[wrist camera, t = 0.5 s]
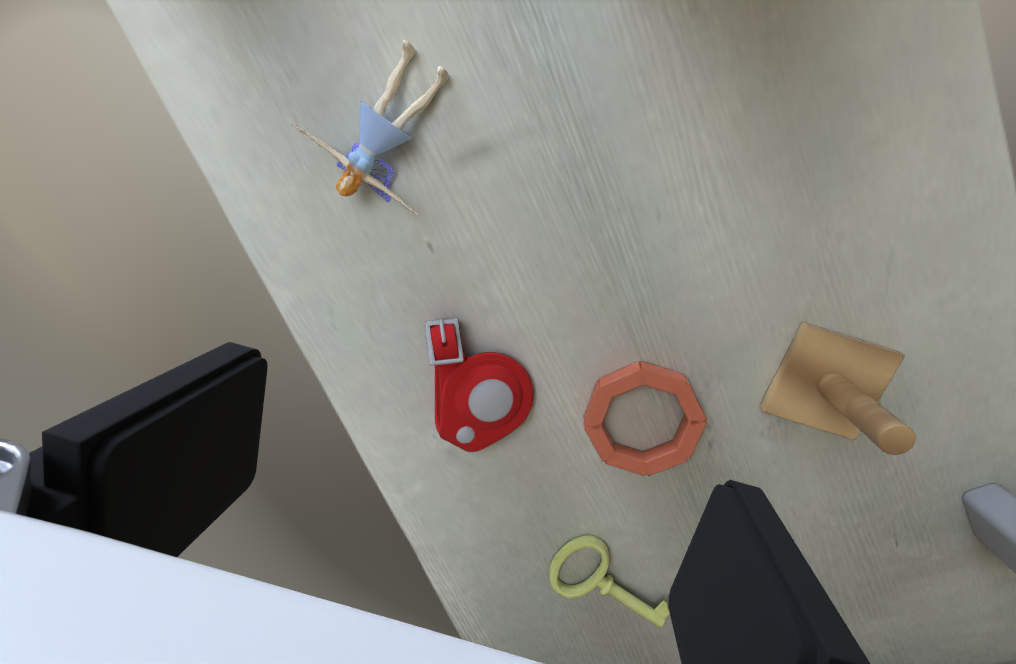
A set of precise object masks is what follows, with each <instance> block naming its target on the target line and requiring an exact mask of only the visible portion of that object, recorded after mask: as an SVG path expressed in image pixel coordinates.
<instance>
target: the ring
mask: <svg viewBox="0 0 1016 664" xmlns="http://www.w3.org/2000/svg"><path fill="white" fill-rule="evenodd" d="M599 380H600V381H597V382H596V385H595V387H594V390H593V393H592V395H591V398H590V401H589V403H588V406H587V409H586V411H585V414H584V429H585V431H586V432H587V434H588V436H589V438H590V440H591V441H592V443H593V445H594V447H595V449H596V450H597V452H598V454H599V456H600V458H601V459H602V461H603V462H604V461H605V463H606V464H608V465H611V466H614V467H618V468H621V469H624V470H627V471H630V472H634V473H637V474H640V475H643V476H645V475H646V473H647V475H648V476H650V475H652V474H655V473H657V472H660V471H663V470H665V469H668V468H670V467H673V466H676V465H678V464H681V463H683V462H686V461H688V460H687V458H690V457H691V455H692V453H693V451H694V449H695V447H696V445H697V443H698V441H699V438H700V436H701V434H702V432H703V430H704V428H705V426H706V424H707V422H706V420H707V419H706V417H705V415H704V413H703V411H702V409H701V406H700V404H699V402H698V400H697V398H696V396H695V394H694V392H693V390H692V388H691V386H690V384H689V382H688V380H687V378H686V377H685V376H683V374H682V373H678V372H675V371H672V370H669V369H665V368H662V367H659V366H656V365H653V364H649V363H646V362H643V361H641V363H640V364H639V362H635V363H633V364H631V365H629V366H627V367H624V368H622V369H620V370H618V371H615V372H613V373H611V374H609V375H606V376H604V377H602V378H600V379H599ZM641 385H646V386H649V387H653V388H656V389H659V390H662V391H665V392H669V393H672V394H675V395H676V397H677V399H678V401H679V403H680V405H681V407H682V409H683V411H684V413H685V414H684V417H683V419H682V421H681V423H680V425H679V428H678V430H677V432H676V434H675V436H674V439H673V440H671V441H669V442H666V443H664V444H661V445H659V446H656V447H654V448H651V449H649V450H646V451H644V452H643V451H640V450H636V449H633V448H630V447H627V446H624V445H620V444H617V443H614V442H613V440H612V438H611V437H610V435H609V433H608V431H607V429H606V427H605V425H604V424H603V420H604V417H605V415H606V412H607V410H608V407H609V404H610V402H611V399H612V398H613V397H615V396H618V395H620V394H622V393H625V392H627V391H629V390H632V389H634V388H636V387H638V386H641Z"/></svg>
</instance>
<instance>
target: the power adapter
mask: <svg viewBox="0 0 1016 664" xmlns="http://www.w3.org/2000/svg"><path fill="white" fill-rule="evenodd" d="M962 500H963V503H964V506H965V509H966V512H967V514H968V517H969V520H970V523H971V526H972V528H973V531H974V534H975V536H976V537H977V538H978V539H979V540H980V541H981V542H982V543H983V544H985V545H986V546H987V547H988V548H989V549H990V550H991V551H992V552H993V553H994V554H995V555H996V556H998V557H999V558H1000V559H1001V560H1002V561H1003V562H1004V563H1005V564H1006V565H1007V566H1008V567H1009V568H1010V569H1012V570H1013V571H1014V572H1015V573H1016V497H1015V496H1014V495H1012V494H1011V493H1010V492H1008V491H1007V490H1006V489H1004V488H1003V487H1002V486H1000V485H999V484H989V485H986V486H982V487H979V488H976V489H973V490H970V491H968V492H966V493H965V494H964V495H963V498H962Z"/></svg>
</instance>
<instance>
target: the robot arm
mask: <svg viewBox="0 0 1016 664" xmlns="http://www.w3.org/2000/svg"><path fill="white" fill-rule="evenodd" d="M266 376H267V361H266V360H265V359H263V358H261V353H260V352H259V350H257V349H253V348H250V347H246V346H242V345H239V344H235V343H231V342H229V343H226V344H224V345H222V346H219V347H217V348H215V349H213V350H211V351H209V352H207V353H205V354H203V355H201V356H199V357H197V358H194V359H193V360H191V361H188V362H186V363H184V364H182V365H180V366H178V367H176V368H174V369H172V370H170V371H168V372H166V373H163V374H162V375H159V376H157V377H155V378H153V379H151V380H149V381H147V382H145V383H143V384H141V385H139V386H137V387H134V388H132V389H130V390H128V391H126V392H124V393H122V394H120V395H118V396H116V397H114V398H112V399H110V400H107V401H105V402H103V403H101V404H99V405H97V406H95V407H93V408H91V409H89V410H87V411H85V412H83V413H80V414H79V415H76V416H74V417H72V418H70V419H68V420H66V421H64V422H62V423H60V424H58V425H56V426H53V427H51V428H50V429H48V430H45V431H43V432H42V444H43V446H42V447H40V448H38V449H36V450H35V451H32V452H30V453H29V451H28V450H27V449H26V448H25V447H24V446H23V445H22V444H19V443H16V442H13V441H11V440H5V439H0V664H543V663H540V662H536V661H533V660H530V659H526V658H523V657H519V656H516V655H513V654H509V653H506V652H502V651H499V650H496V649H492V648H489V647H485V646H482V645H479V644H475V643H472V642H468V641H465V640H461V639H458V638H455V637H451V636H448V635H444V634H441V633H437V632H434V631H431V630H427V629H424V628H420V627H417V626H414V625H410V624H407V623H403V622H400V621H396V620H393V619H389V618H386V617H382V616H379V615H375V614H372V613H369V612H365V611H361V610H358V609H355V608H351V607H348V606H345V605H341V604H338V603H334V602H331V601H327V600H323V599H320V598H317V597H313V596H310V595H306V594H302V593H299V592H296V591H293V590H289V589H286V588H282V587H279V586H275V585H272V584H268V583H265V582H261V581H258V580H255V579H251V578H248V577H244V576H241V575H237V574H233V573H230V572H226V571H223V570H219V569H216V568H212V567H209V566H205V565H201V564H198V563H195V562H191V561H188V560H184V559H180V558H177V557H178V556H179V555H180V554H181V553H182V552H183V551H184V550H185V549H186V548H187V547H188V546H189V545H190V544H191V543H192V542H193V541H194V540H195V539H196V538H197V537H198V536H199V535H200V534H201V533H202V532H204V531H205V530H206V529H207V528H208V527H209V526H210V525H211V524H212V523H213V522H214V521H215V520H216V519H217V518H218V517H219V516H220V515H221V514H222V513H223V512H224V511H225V510H226V509H227V508H228V507H229V506H230V505H231V504H232V503H233V502H234V501H235V500H236V499H237V498H239V496H241V495H242V494H243V493H244V492H245V491H246V490H247V489H248V487H249V486H250V485H251V483H252V481H253V479H254V476H255V473H256V467H257V458H258V449H259V440H260V430H261V422H262V413H263V403H264V394H265V385H266ZM669 612H670V616H671V620H672V624H673V629H674V633H675V637H676V642H677V646H678V650H679V654H680V659H681V663H682V664H870V662H869V661H868V659H867V658H866V656H865V654H864V653H863V651H862V650H861V648H860V646H859V645H858V643H857V642H856V640H855V638H854V637H853V635H852V634H851V632H850V630H849V629H848V627H847V626H846V624H845V622H844V621H843V619H842V617H841V616H840V614H839V613H838V611H837V609H836V608H835V606H834V605H833V603H832V601H831V600H830V598H829V597H828V595H827V593H826V592H825V590H824V589H823V587H822V585H821V584H820V582H819V581H818V579H817V577H816V576H815V574H814V573H813V571H812V569H811V568H810V566H809V565H808V563H807V561H806V560H805V558H804V556H803V555H802V553H801V552H800V550H799V548H798V547H797V545H796V544H795V542H794V540H793V539H792V537H791V536H790V534H789V532H788V531H787V529H786V528H785V526H784V524H783V523H782V521H781V520H780V518H779V516H778V515H777V513H776V512H775V510H774V508H773V507H772V505H771V504H770V502H769V500H768V499H767V497H766V495H765V494H764V492H763V491H762V490H761V489H760V488H758V487H755V486H751V485H747V484H744V483H740V482H736V481H733V480H729V481H727V482H726V483H725V484H724V485H720V484H718V485H716V487H715V488H714V490H713V491H712V494H711V496H710V498H709V501H708V503H707V505H706V508H705V510H704V512H703V515H702V517H701V519H700V522H699V524H698V526H697V529H696V531H695V533H694V536H693V538H692V540H691V543H690V545H689V547H688V550H687V552H686V554H685V557H684V559H683V561H682V564H681V566H680V568H679V571H678V573H677V575H676V578H675V580H674V582H673V585H672V587H671V590H670V594H669Z"/></svg>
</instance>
